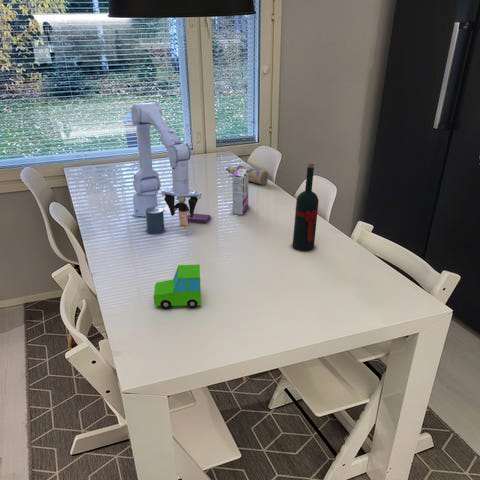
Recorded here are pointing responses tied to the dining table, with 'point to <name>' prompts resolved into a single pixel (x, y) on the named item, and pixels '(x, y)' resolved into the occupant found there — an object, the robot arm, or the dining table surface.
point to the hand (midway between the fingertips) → (182, 215)
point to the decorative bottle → (252, 174)
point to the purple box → (199, 218)
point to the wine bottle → (306, 215)
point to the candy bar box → (240, 191)
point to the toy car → (180, 288)
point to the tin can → (155, 220)
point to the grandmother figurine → (182, 212)
